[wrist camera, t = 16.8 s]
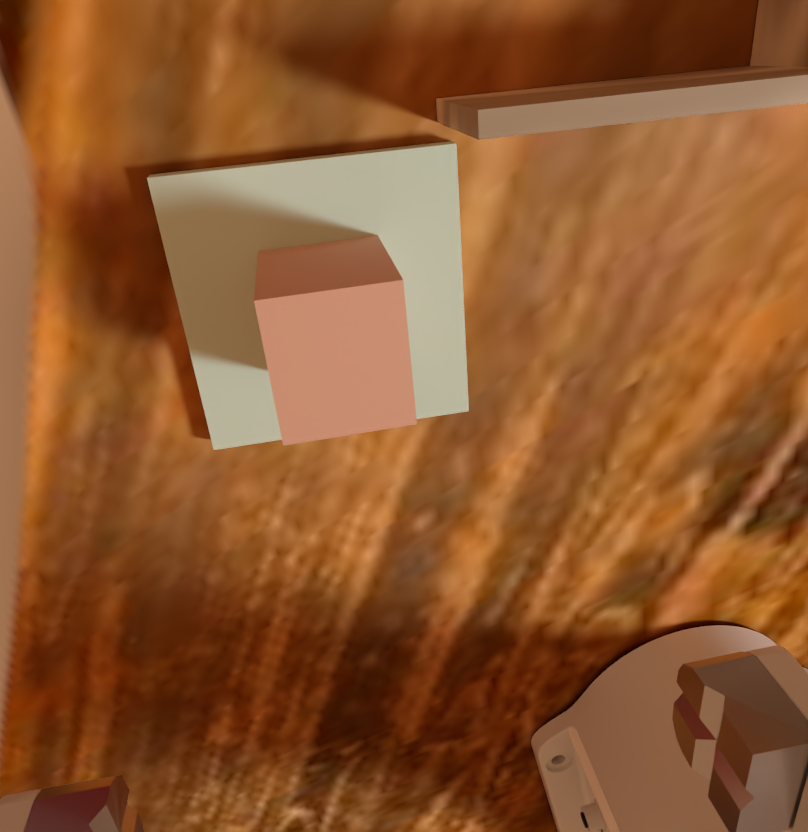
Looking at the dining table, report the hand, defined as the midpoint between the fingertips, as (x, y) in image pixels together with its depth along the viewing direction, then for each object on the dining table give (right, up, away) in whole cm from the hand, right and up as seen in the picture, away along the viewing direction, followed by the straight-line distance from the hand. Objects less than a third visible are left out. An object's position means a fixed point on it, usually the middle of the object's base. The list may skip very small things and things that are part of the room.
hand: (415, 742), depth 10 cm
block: (-3, +9, +17) cm, 20 cm away
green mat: (-3, +9, +18) cm, 21 cm away
